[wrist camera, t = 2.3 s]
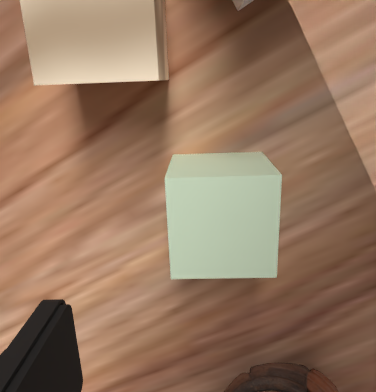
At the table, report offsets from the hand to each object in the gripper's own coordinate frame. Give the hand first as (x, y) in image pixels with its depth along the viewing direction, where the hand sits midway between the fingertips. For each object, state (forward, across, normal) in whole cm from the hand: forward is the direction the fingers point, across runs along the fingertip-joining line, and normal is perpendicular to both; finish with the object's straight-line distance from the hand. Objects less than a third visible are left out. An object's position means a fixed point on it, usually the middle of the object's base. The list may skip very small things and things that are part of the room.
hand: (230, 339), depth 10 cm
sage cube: (+11, 0, -1) cm, 11 cm away
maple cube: (+11, +5, -10) cm, 16 cm away
